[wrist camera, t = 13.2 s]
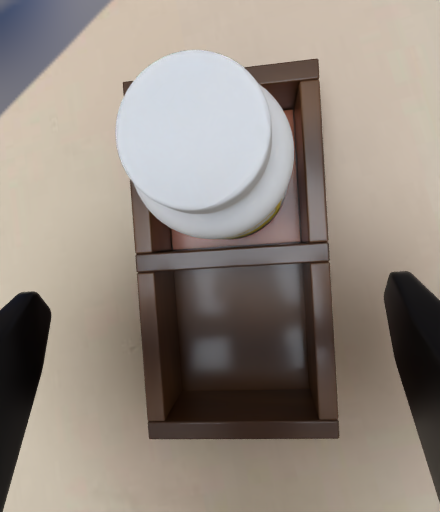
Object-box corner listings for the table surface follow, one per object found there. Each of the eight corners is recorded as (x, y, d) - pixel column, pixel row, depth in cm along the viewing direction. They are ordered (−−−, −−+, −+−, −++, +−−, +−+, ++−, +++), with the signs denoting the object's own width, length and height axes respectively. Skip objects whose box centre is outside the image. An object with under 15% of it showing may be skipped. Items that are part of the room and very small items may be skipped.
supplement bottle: (202, 113, 19) (137, -15, 10) (304, 154, 19) (343, 62, 9) (160, 213, 20) (58, 189, 10) (258, 256, 19) (250, 274, 10)
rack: (325, 398, 20) (340, 439, 16) (171, 401, 21) (148, 440, 17) (307, 95, 19) (318, 57, 15) (150, 112, 20) (122, 81, 16)
